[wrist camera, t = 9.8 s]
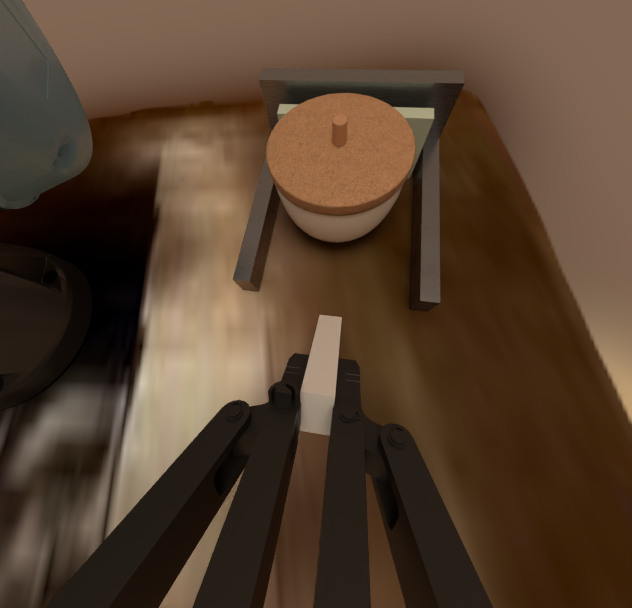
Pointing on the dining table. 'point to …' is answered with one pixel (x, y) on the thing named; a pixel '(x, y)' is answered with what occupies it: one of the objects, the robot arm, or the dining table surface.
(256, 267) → the grey u-shaped frame
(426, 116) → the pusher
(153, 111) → the dining table surface
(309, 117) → the lidded jar
